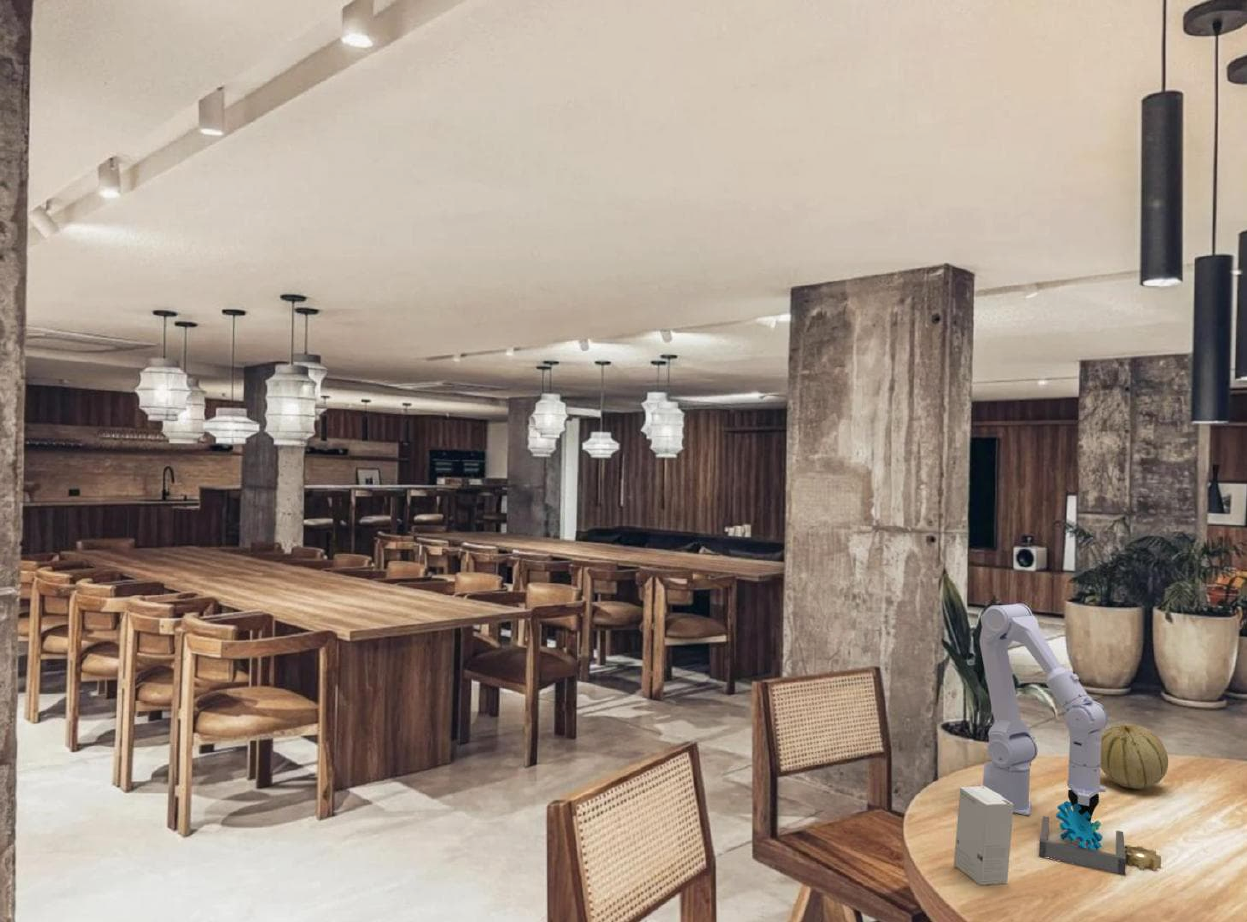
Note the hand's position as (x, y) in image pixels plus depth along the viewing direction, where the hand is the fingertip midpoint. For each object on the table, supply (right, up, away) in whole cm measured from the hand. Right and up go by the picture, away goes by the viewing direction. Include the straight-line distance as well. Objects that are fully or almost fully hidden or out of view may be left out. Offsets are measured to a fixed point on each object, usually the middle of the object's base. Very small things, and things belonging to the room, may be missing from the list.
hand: (1082, 829), depth 181 cm
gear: (-3, -1, -5) cm, 6 cm away
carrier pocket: (-2, -1, -10) cm, 10 cm away
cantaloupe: (+27, -2, +29) cm, 40 cm away
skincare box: (-29, 0, -20) cm, 35 cm away
